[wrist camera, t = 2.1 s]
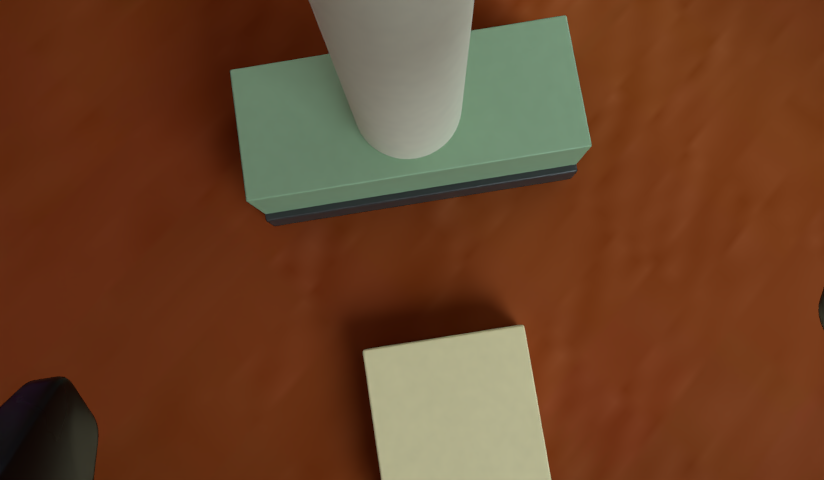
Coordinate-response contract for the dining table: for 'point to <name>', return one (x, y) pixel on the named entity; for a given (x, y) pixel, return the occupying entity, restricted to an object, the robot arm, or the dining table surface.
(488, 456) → the pale yellow square block
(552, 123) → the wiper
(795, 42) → the dining table surface
